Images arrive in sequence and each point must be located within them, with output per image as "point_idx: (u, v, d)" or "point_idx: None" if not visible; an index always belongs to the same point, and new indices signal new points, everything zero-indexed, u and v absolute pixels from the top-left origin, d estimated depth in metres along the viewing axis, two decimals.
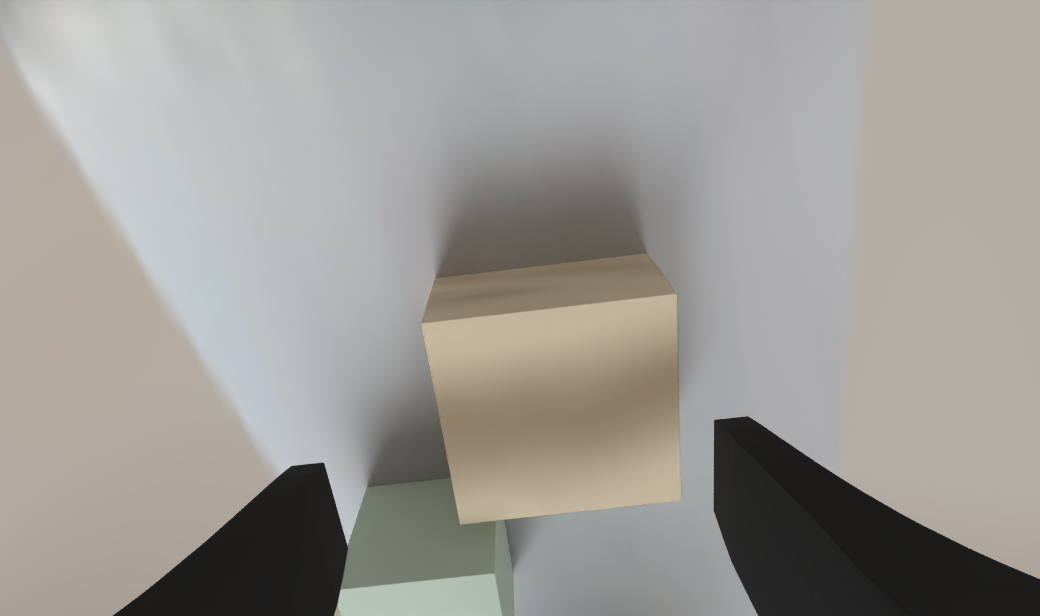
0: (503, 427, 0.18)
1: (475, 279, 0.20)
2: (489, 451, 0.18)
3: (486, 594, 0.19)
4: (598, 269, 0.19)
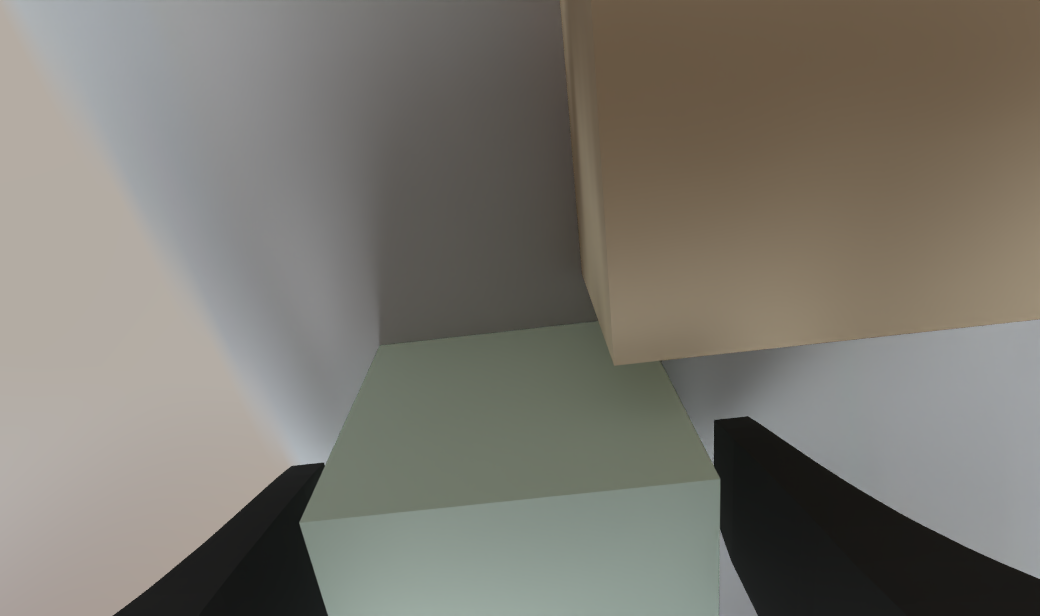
0: (765, 68, 0.07)
1: None
2: (715, 147, 0.07)
3: (689, 537, 0.07)
4: None
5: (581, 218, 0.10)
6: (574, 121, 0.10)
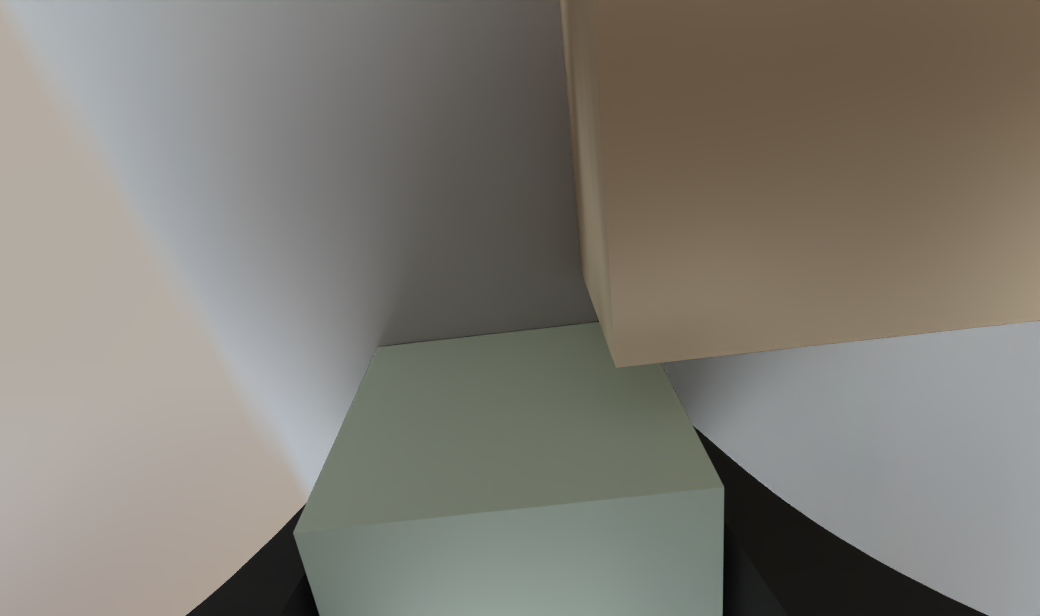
0: (768, 67, 0.07)
1: None
2: (719, 147, 0.07)
3: (692, 546, 0.07)
4: None
5: (581, 218, 0.10)
6: (574, 121, 0.09)
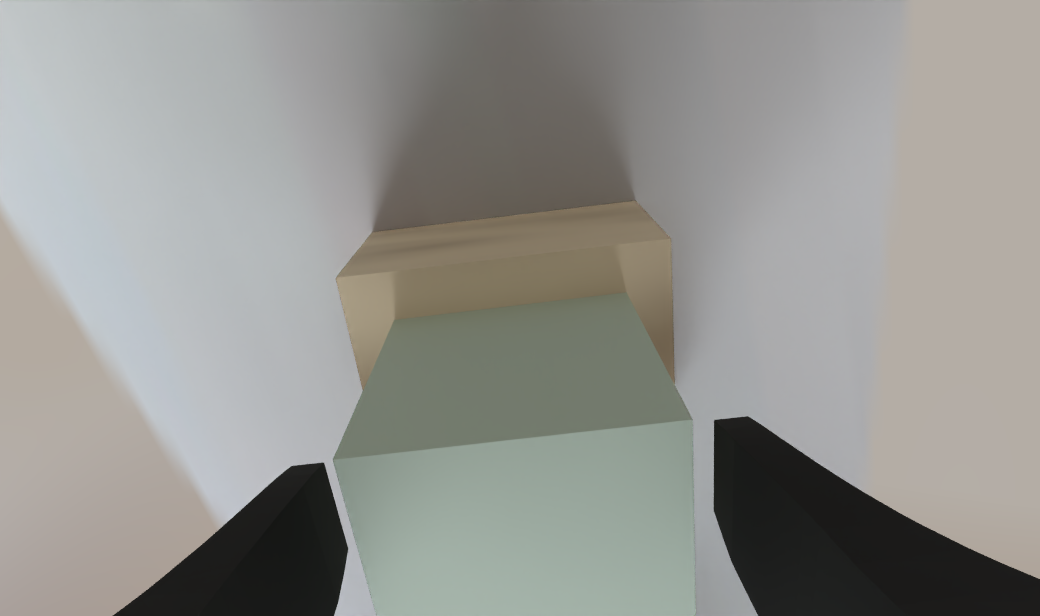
0: None
1: (419, 232, 0.16)
2: None
3: (667, 471, 0.09)
4: (572, 217, 0.15)
5: None
6: None
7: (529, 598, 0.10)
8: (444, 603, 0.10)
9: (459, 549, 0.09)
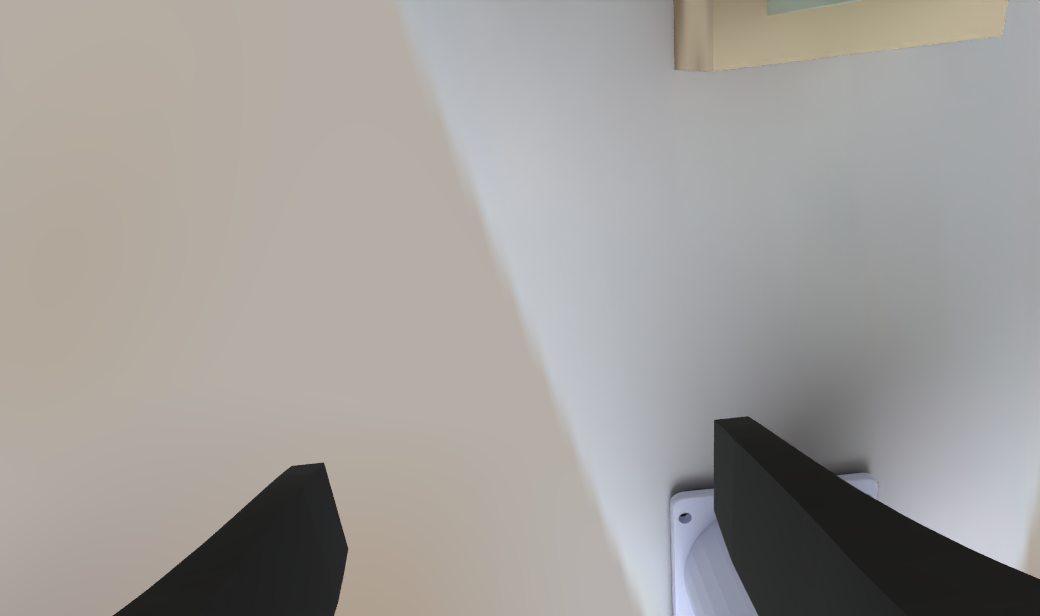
0: None
1: None
2: None
3: None
4: None
5: (680, 23, 0.17)
6: None
7: None
8: None
9: None
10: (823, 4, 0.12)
